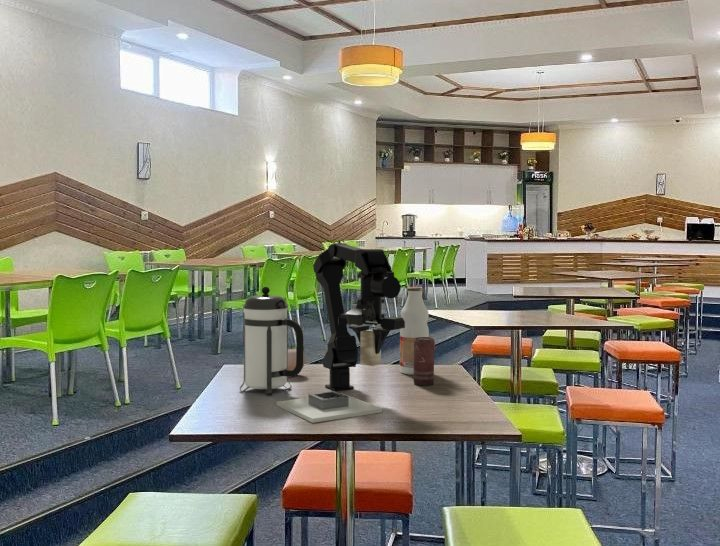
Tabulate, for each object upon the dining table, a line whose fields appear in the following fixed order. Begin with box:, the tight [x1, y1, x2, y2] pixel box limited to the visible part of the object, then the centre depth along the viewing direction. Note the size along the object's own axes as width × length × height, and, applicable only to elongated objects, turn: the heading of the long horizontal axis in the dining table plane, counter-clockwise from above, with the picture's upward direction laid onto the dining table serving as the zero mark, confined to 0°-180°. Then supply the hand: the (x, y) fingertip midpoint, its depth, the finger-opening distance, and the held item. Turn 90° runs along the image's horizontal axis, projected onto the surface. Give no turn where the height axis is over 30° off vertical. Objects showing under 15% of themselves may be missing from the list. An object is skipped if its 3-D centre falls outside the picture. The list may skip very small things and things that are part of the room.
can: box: [412, 336, 436, 387], centre depth 214 cm, size 6×6×14 cm
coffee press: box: [239, 286, 304, 397], centre depth 203 cm, size 17×16×30 cm
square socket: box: [307, 390, 349, 410], centre depth 183 cm, size 8×8×2 cm
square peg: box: [359, 329, 382, 367], centre depth 192 cm, size 4×4×9 cm
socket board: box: [276, 392, 383, 424], centre depth 183 cm, size 20×20×1 cm
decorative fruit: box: [288, 344, 307, 371], centre depth 225 cm, size 9×8×10 cm
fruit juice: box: [399, 286, 430, 376], centre depth 231 cm, size 9×9×28 cm
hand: (370, 352), depth 192 cm, fingers closed on square peg, 4 cm apart
